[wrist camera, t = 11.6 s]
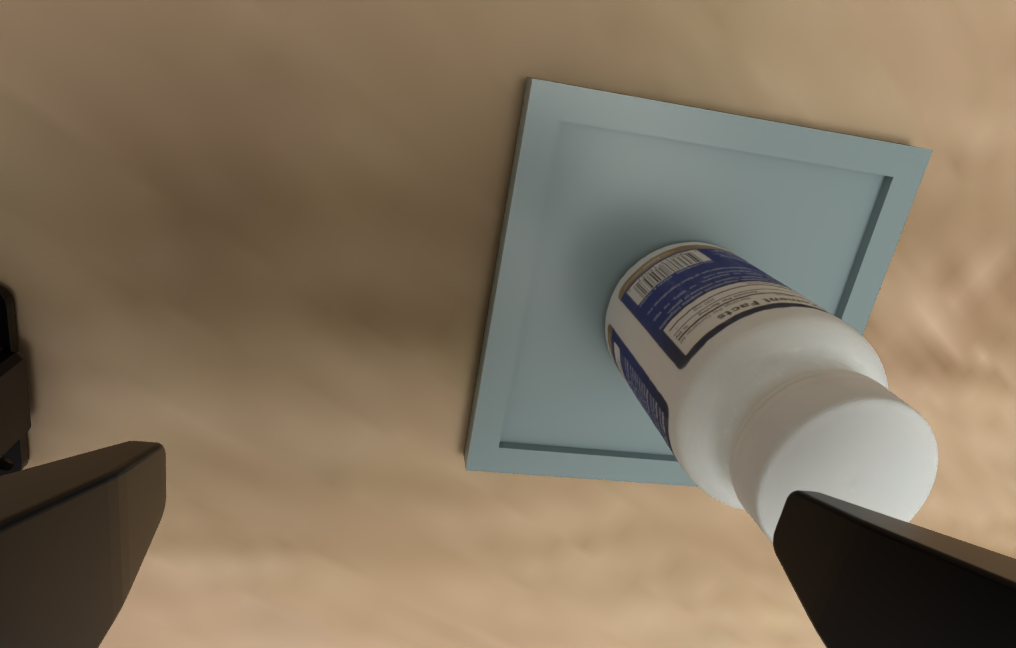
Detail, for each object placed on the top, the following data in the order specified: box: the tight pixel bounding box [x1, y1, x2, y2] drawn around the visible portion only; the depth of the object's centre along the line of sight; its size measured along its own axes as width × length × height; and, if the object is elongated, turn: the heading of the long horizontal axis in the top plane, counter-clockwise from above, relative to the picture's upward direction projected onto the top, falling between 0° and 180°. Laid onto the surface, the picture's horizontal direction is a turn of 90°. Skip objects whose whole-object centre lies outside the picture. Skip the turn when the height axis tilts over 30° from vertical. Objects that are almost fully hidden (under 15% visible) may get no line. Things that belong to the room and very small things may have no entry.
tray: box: [464, 77, 933, 487], centre depth 23 cm, size 13×13×1 cm
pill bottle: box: [605, 242, 938, 542], centre depth 18 cm, size 5×5×10 cm
